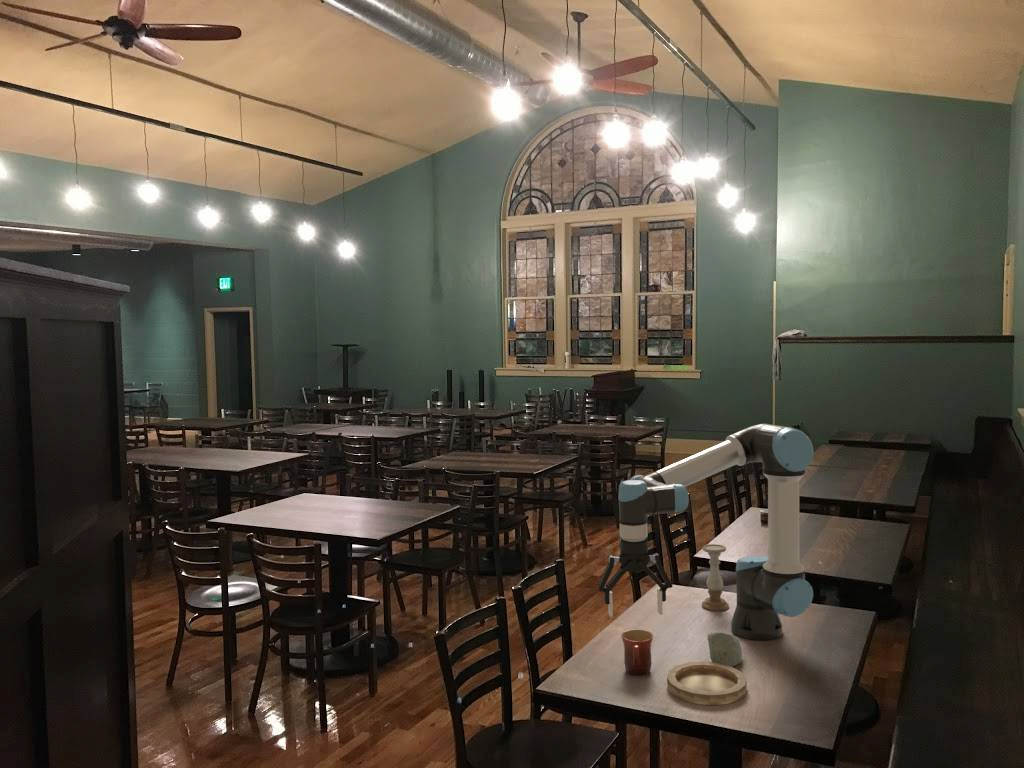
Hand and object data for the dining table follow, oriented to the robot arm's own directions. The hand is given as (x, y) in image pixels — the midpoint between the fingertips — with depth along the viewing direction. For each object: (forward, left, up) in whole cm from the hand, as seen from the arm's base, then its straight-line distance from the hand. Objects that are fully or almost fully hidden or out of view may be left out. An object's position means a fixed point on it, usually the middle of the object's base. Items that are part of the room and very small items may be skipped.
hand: (635, 614), depth 229 cm
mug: (0, 0, -17) cm, 17 cm away
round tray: (-16, +11, -17) cm, 26 cm away
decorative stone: (-26, -5, -17) cm, 32 cm away
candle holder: (-36, -48, -17) cm, 62 cm away
